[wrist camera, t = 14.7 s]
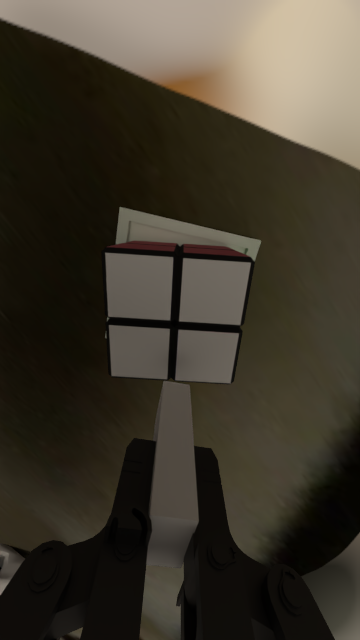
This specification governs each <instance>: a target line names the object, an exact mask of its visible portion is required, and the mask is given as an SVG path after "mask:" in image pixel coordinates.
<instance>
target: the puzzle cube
mask: <svg viewBox="0 0 360 640" xmlns="http://www.w3.org/2000/svg"><path fill="white" fill-rule="evenodd" d="M254 264H255V262H254V260H253V259H252V258H251V257H250V256H248V255H245V254H243V253H241V252H238V251H235V250H234V249H231V248H229V247H226V246H211V245H196V244H182V245H181V246H179V245H178V244H177V243H165V242H149V241H130V242H126V243H121V244H116V245H112V246H108V247H106V248H105V249H104V250H103V251H102V268H103V286H104V303H105V315H106V316H107V317H108V318H109V319H108V321H107V322H106V338H107V355H108V372H109V375H111V376H112V377H116V378H133V379H150V380H169V379H170V378H172V379H173V380H175V381H182V382H199V383H215V384H231V383H232V382H233V381H234V377H235V371H236V366H237V360H238V354H239V349H240V343H241V338H242V330H241V328H240V326H241V325H243V324H244V320H245V315H246V309H247V303H248V298H249V292H250V286H251V281H252V275H253V270H254Z"/></svg>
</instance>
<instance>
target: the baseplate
mask: <svg viewBox="0 0 360 640" xmlns="http://www.w3.org/2000/svg"><path fill="white" fill-rule="evenodd" d="M130 241H149V242H165V243H177V244H178V245H179V246H181V245H182V244H196V245H211V246H226V247H229V248H231V249H234V250H235V251H238V252H241V253H243V254H245V255H248V256H250V257H251V258H252V259H253V260H254V261H255V258H256V255H257V252H258V249H259V246H260V243H261V241H260V240H256V239H252V238H248V237H244V236H239V235H235V234H231V233H227V232H223V231H218V230H214V229H210V228H206V227H202V226H198V225H193V224H189V223H185V222H181V221H177V220H172V219H168V218H164V217H160V216H156V215H151V214H147V213H143V212H139V211H135V210H130V209H126V208H122V207H120V210H119V219H118V228H117V237H116V244H121V243H126V242H130ZM108 319H109V318H108V317H107V321H108ZM105 338H106V334H105Z"/></svg>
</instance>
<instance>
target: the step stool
mask: <svg viewBox="0 0 360 640" xmlns="http://www.w3.org/2000/svg"><path fill="white" fill-rule="evenodd" d="M24 560H25V558H24V557H23V556H21V555H20V554H19V553H18V552H17V551H15V550H14V549H13V548H12V547H10V546H8V545H5V544H1V543H0V567H1V568H2V569H1V570H0V595H1V594H2V592H3V591H4V589H5V588H6V586H7V585H8V583H9V582H10V580H11V579H12V577H13V576H14V574H15V573H16V571H17V570H18V568H19V567H20V565H21V564H22V562H23V561H24Z"/></svg>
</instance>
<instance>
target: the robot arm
mask: <svg viewBox="0 0 360 640" xmlns="http://www.w3.org/2000/svg"><path fill="white" fill-rule="evenodd" d="M183 562H184V581H183V584H182V586H181V589H180V591H179V594H178V597H177V604H176V606H180V604H181V640H335V639H334V637H333V635H332V633H331V631H330V629H329V627H328V625H327V623H326V622H325V620H324V618H323V616H322V614H321V612H320V610H319V608H318V606H317V604H316V602H315V600H314V598H313V596H312V594H311V592H310V590H309V588H308V587H307V585H306V584H305V582H304V581H303V579H302V577H301V576H300V575H299V574H298V573H297V572H296V571H295V570H293V569H292V568H290V567H288V566H286V565H285V564H276V565H275V566H273V567H272V568H268V567H266V566H264V565H262V564H261V563H259V562H257V561H255V560H253V559H252V558H250V557H248V556H247V555H246V554H244V553H243V552H242V551H241V550H240V549H239V548H238V546H237V545H236V543H235V542H234V540H233V538H232V536H231V534H230V530H229V526H228V521H227V515H226V509H225V503H224V497H223V490H222V485H221V478H220V475H219V466H218V460H217V458H216V456H215V454H214V453H213V451H212V449H211V448H204V447H197V446H194V441H193V426H192V411H191V396H190V385H187V384H181V383H174V382H168V381H163V386H162V391H161V396H160V401H159V405H158V410H157V415H156V421H155V429H154V437H153V441H151V440H144V439H137V438H134V439H133V440H132V442H131V443H130V444H129V446H128V447H127V449H126V454H125V458H124V462H123V466H122V471H121V475H120V479H119V483H118V487H117V492H116V496H115V500H114V504H113V508H112V513H111V515H110V517H109V519H108V521H107V524H106V526H105V527H104V528H103V529H102V530H101V531H100V533H98V534H97V535H96V536H94V537H93V538H90V539H88V540H86V541H83V542H79V543H76V544H73V545H69V546H67V545H65V544H64V543H63V542H61V541H55V540H52V541H49V542H45V543H42V544H41V545H40V546H38V547H37V548H35V549H34V550H32V551H31V553H30V554H29V555H28V556H27V557H26V558H25V560H24V561H23V562H22V564H21V565H20V567H19V568H18V570H17V571H16V573H15V574H14V576H13V577H12V579H11V580H10V582H9V583H8V585H7V586H6V588H5V589H4V591H3V592H2V594H1V595H0V640H60V637H61V636H63V635H65V634H68V633H70V632H72V631H75V630H77V629H79V628H82V627H83V630H82V634H81V638H80V640H139V634H140V624H141V613H142V603H143V592H144V582H145V571H146V565H154V566H164V567H173V568H181V567H182V564H183Z"/></svg>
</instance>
